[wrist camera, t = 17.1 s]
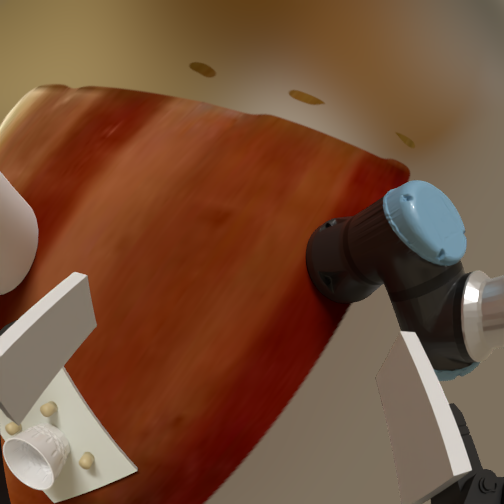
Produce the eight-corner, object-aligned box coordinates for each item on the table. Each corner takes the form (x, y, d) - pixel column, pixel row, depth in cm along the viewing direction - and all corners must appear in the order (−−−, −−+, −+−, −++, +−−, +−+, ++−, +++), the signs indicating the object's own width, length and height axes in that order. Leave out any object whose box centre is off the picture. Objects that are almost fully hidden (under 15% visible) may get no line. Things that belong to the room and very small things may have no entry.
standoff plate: (137, 468, 31) (135, 479, 27) (55, 500, 23) (49, 511, 19) (60, 359, 32) (50, 362, 28) (-14, 404, 24) (-25, 408, 21)
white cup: (49, 410, 28) (22, 428, 19) (83, 452, 28) (65, 480, 19) (22, 430, 25) (-7, 448, 16) (54, 469, 25) (33, 496, 16)
